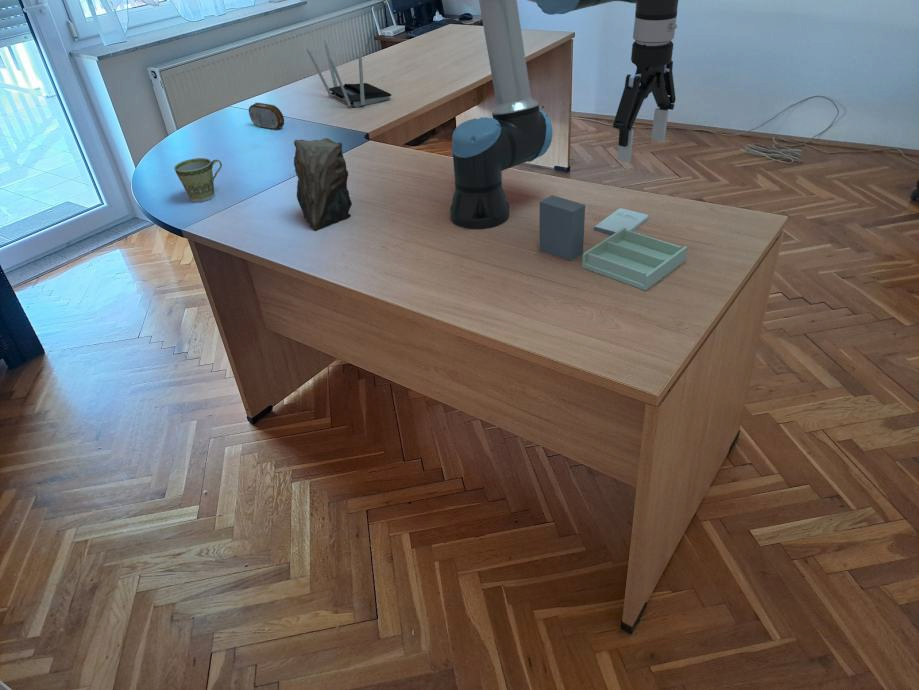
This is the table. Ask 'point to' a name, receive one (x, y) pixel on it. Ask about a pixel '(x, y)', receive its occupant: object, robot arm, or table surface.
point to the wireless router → (351, 86)
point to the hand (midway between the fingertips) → (641, 150)
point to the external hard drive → (621, 221)
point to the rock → (321, 182)
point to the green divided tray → (634, 258)
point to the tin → (266, 116)
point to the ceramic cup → (197, 178)
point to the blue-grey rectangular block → (561, 227)
